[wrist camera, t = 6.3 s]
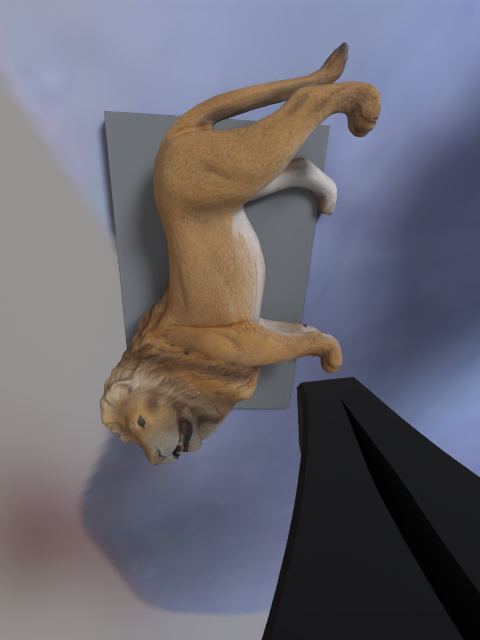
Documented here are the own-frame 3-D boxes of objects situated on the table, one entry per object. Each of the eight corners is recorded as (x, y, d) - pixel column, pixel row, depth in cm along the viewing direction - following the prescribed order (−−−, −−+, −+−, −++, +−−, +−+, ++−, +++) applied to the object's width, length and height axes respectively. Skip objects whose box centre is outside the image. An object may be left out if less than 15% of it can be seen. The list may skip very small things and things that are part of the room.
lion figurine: (343, 488, 13) (81, 491, 12) (307, 414, 18) (123, 413, 17) (399, -5, 9) (38, -30, 9) (335, 80, 14) (106, 67, 14)
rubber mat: (325, 126, 14) (329, 125, 13) (286, 401, 19) (288, 409, 19) (109, 112, 13) (103, 110, 12) (135, 399, 19) (132, 406, 18)
